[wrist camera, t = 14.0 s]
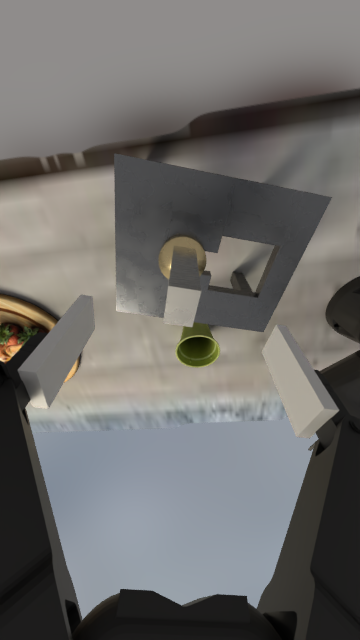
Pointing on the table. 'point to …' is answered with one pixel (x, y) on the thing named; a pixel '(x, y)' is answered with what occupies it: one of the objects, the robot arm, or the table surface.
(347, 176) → the table surface
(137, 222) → the shelf
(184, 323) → the brass hanging weight
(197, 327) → the plant pot
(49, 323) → the wooden plate with food
